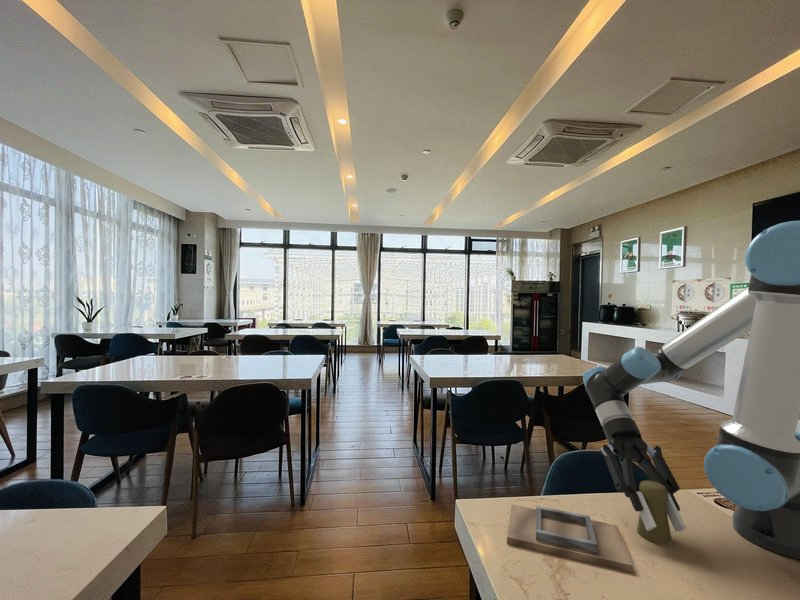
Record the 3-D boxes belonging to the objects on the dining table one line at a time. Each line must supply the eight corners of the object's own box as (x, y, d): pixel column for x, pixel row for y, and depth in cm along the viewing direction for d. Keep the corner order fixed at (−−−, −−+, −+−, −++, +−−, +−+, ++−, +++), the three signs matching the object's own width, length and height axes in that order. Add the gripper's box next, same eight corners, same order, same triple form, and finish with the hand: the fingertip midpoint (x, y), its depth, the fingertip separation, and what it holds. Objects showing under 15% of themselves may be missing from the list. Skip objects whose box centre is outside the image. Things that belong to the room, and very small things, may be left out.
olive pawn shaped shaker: (678, 546, 73) (676, 491, 74) (644, 542, 74) (643, 487, 75) (662, 529, 79) (661, 478, 80) (632, 526, 80) (631, 475, 81)
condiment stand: (617, 530, 78) (617, 517, 79) (632, 572, 65) (632, 556, 66) (511, 509, 86) (511, 498, 86) (506, 543, 73) (506, 529, 73)
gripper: (647, 432, 93) (701, 536, 76) (576, 430, 93) (613, 533, 76) (661, 416, 88) (722, 524, 71) (586, 414, 88) (628, 521, 71)
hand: (666, 528), depth 73 cm, fingers closed on olive pawn shaped shaker, 5 cm apart
